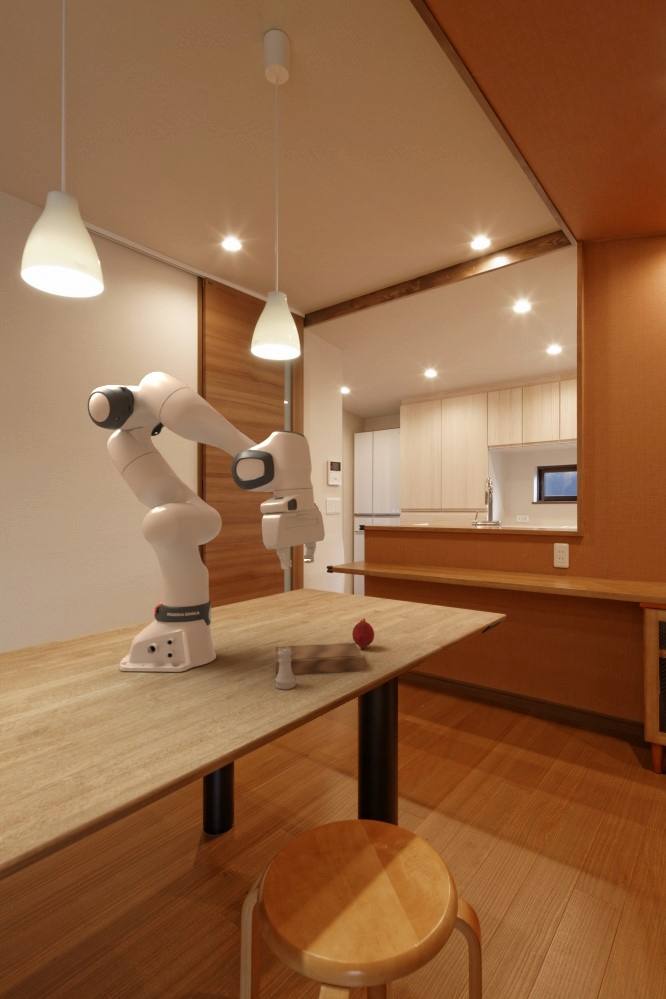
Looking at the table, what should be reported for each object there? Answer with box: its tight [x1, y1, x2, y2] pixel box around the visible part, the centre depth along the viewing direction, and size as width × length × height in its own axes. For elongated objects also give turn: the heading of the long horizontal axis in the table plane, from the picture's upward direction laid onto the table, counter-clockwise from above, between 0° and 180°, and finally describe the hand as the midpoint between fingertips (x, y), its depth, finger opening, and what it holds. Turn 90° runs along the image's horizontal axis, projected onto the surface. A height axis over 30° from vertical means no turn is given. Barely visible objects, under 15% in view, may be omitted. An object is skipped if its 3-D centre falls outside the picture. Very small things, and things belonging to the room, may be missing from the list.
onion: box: [352, 617, 375, 650], centre depth 130 cm, size 6×6×8 cm
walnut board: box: [275, 642, 365, 676], centre depth 118 cm, size 20×12×3 cm, turn 97°
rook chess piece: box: [274, 646, 297, 691], centre depth 104 cm, size 4×4×8 cm
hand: (298, 565), depth 109 cm, fingers open, 8 cm apart
